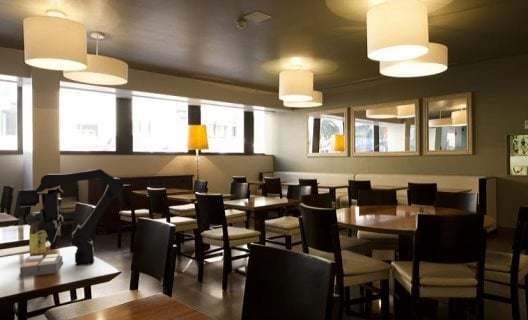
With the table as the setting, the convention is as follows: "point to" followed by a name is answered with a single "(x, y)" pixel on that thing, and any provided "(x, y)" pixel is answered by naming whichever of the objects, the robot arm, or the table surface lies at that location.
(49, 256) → the sage key
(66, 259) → the table surface
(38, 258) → the grey key
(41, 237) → the sauce bottle
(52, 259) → the cream key
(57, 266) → the keypad housing
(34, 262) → the terracotta key
